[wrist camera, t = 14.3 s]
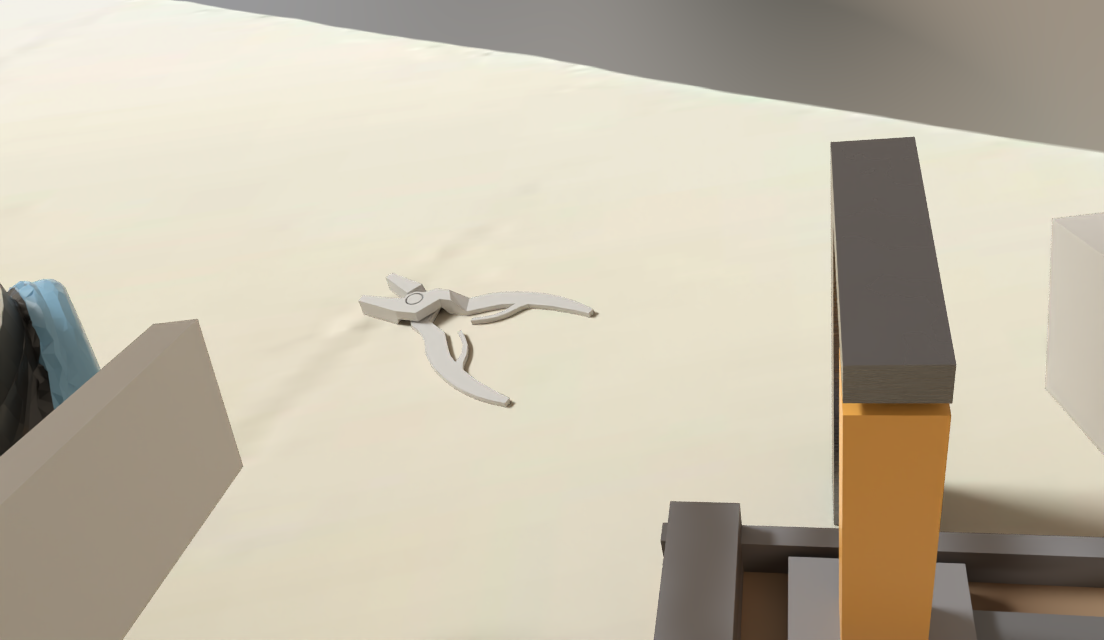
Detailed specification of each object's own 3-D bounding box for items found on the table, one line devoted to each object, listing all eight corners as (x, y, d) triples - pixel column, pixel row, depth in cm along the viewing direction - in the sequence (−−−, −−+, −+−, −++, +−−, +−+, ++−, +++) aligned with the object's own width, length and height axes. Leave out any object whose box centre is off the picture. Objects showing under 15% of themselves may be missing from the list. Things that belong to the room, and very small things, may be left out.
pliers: (498, 395, 56) (323, 328, 64) (504, 414, 57) (331, 346, 65) (592, 295, 62) (420, 246, 70) (596, 314, 63) (426, 263, 71)
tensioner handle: (788, 733, 37) (772, 464, 28) (789, 579, 43) (775, 309, 33) (1172, 765, 34) (1300, 474, 25) (1122, 594, 39) (1211, 300, 30)
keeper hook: (841, 712, 39) (842, 365, 28) (832, 476, 49) (830, 142, 37) (920, 718, 39) (955, 364, 27) (895, 477, 48) (914, 136, 36)
